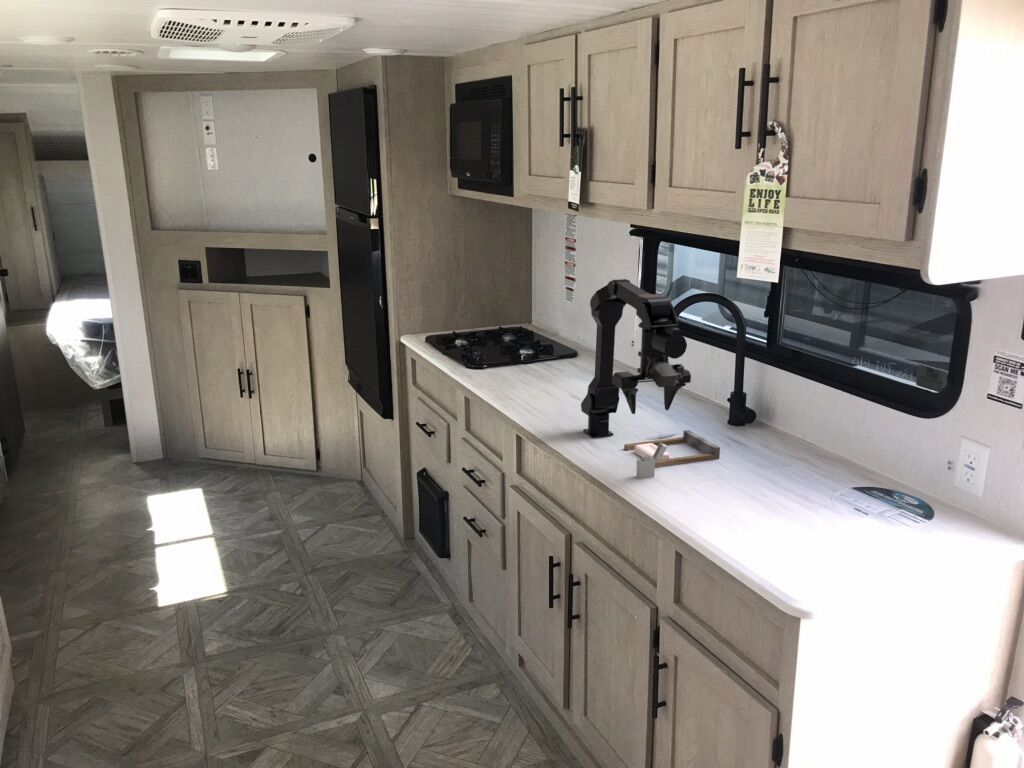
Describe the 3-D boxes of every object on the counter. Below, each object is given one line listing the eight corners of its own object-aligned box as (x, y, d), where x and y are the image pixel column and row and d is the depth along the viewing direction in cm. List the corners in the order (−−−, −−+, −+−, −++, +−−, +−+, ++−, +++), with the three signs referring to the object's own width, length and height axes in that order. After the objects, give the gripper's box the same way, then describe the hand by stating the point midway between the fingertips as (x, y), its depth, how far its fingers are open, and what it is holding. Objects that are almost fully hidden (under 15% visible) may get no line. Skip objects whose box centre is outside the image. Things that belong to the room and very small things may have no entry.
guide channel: (624, 448, 226) (624, 437, 225) (687, 440, 232) (688, 430, 232) (652, 467, 212) (653, 456, 212) (719, 458, 219) (720, 447, 218)
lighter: (638, 478, 205) (640, 446, 203) (635, 476, 207) (637, 444, 205) (665, 475, 208) (667, 444, 205) (662, 473, 209) (664, 441, 207)
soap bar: (651, 450, 226) (652, 442, 225) (670, 462, 217) (670, 453, 217) (633, 453, 224) (634, 444, 223) (651, 464, 216) (651, 455, 215)
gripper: (634, 359, 194) (631, 425, 198) (705, 353, 200) (701, 417, 205) (612, 349, 204) (609, 412, 208) (680, 343, 211) (676, 404, 215)
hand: (650, 411), depth 209 cm, fingers open, 9 cm apart
